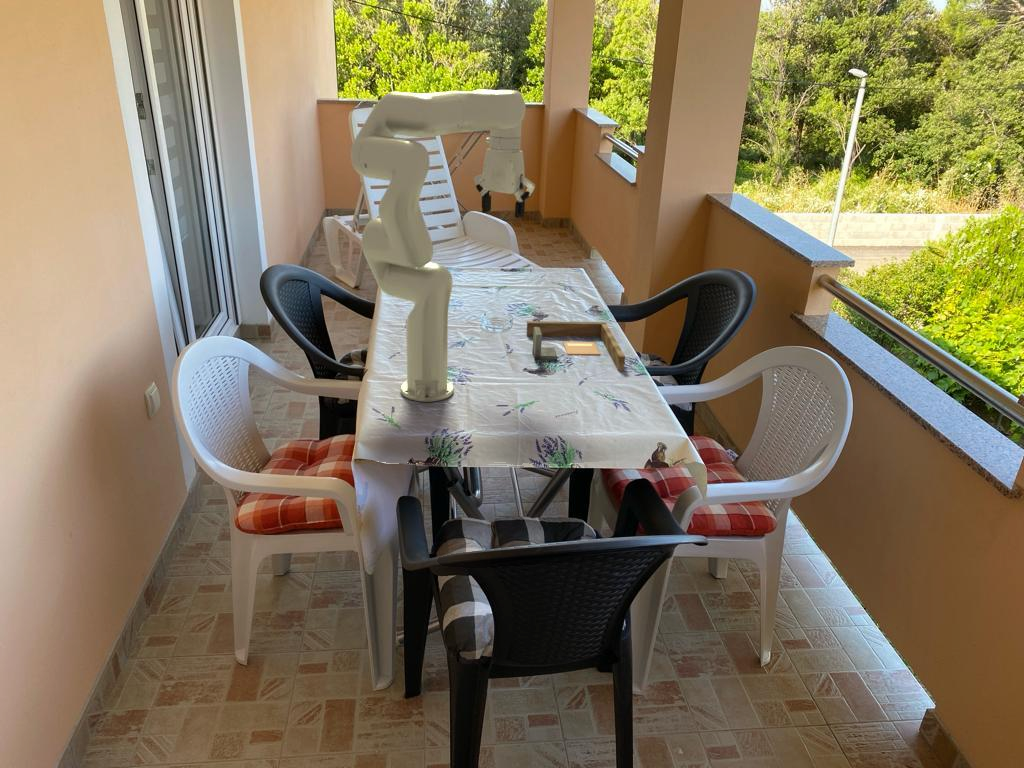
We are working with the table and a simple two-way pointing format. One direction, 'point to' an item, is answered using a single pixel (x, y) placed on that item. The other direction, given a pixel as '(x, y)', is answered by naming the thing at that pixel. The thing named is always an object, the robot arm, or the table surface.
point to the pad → (581, 348)
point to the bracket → (539, 352)
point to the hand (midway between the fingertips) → (502, 214)
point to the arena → (582, 335)
